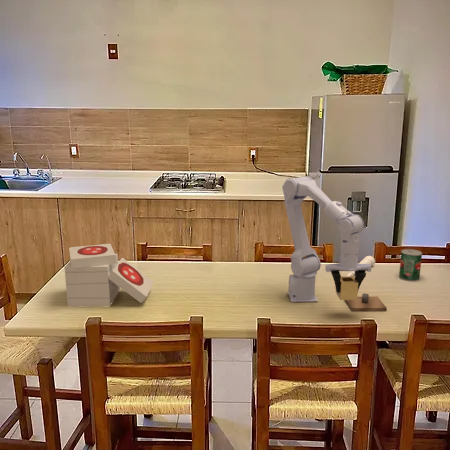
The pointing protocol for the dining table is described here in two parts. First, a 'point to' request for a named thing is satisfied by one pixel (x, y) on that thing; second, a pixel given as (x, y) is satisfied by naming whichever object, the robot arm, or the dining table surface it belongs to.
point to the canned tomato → (410, 265)
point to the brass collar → (348, 288)
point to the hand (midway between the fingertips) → (346, 291)
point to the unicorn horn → (366, 260)
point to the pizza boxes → (101, 277)
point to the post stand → (366, 304)
